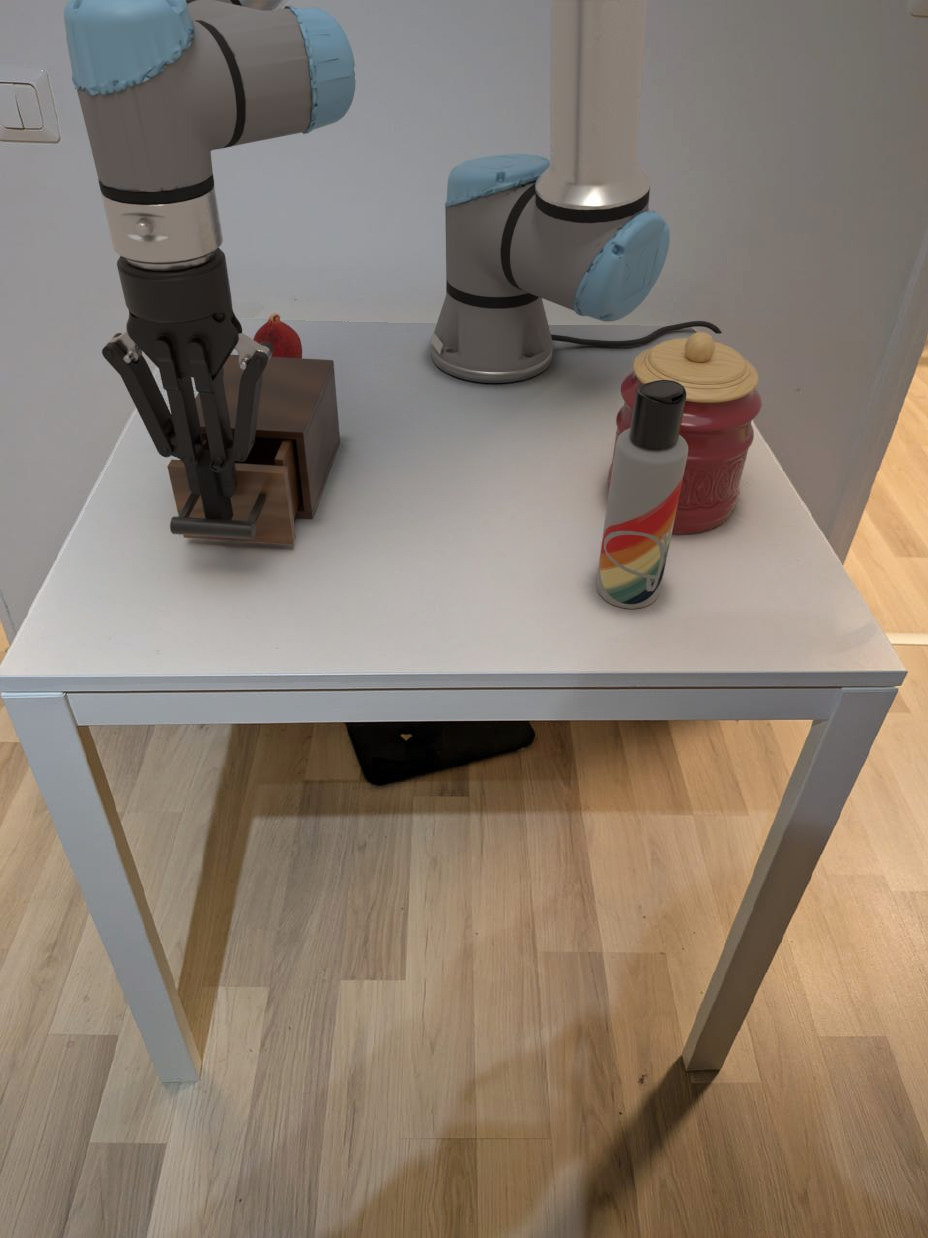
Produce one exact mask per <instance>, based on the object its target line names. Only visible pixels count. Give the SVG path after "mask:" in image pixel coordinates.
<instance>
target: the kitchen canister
mask: <svg viewBox="0 0 928 1238" xmlns="http://www.w3.org/2000/svg"><path fill="white" fill-rule="evenodd" d="M632 369H633V370H632V371H631V372H629V373H628V374H627V375H626V376H625V377H624V378H623V380H622V382H621V385H620V395H621V397H622V400H623V404H622V406H621V407H620V409H619V410H618V412H617V413H616V414H617V415H616V419H615V425H616V432H615V439H614V445H613V452H612V460H611V464H610V465H609V468H608V476H607V488H608V490H609V489H610V482H611V475H612V468H613V461H614V454H615V448H616V442H617V439H618V437H619V435H620V434H621V433H622V432H624V431H625V430H627V429H629V428H631V421H632V414H633V408H634V401H635V395H636V390H637V388H638V387H639V386H641V385H643V384H646V383H649V382H652V381H658V380H671V381H675V382H678V383H680V384H681V385H682V386H683V387H684V388H685V390H686V394H687V395H686V402H685V407H684V412H683V417H682V423H681V428H680V433H679V435H680V436H682V437H683V438H684V439H685V441H686V442H687V445H688V455H687V460H686V466H685V471H684V476H683V481H682V485H681V490H680V495H679V500H678V505H677V510H676V515H675V520H674V525H673V530H672V534H694V533H701V532H705V531H710V530H711V529H714V528H716V527H718V526H720V525H722V524H723V523H724V522H726V521H727V520H728V519H729V517H730V516H731V514H732V512H733V509H734V508H735V507H736V504H737V503H738V500H739V495H740V491H741V480H742V476H743V473H744V468H745V466H746V465H745V464H746V460H747V457H748V453H749V450H750V449H749V448H750V447H751V446H752V444H753V442H754V437H755V433H754V428H753V427H754V426H752V422H753V420H754V419H755V418H756V417H757V416H758V415H759V414H760V412H761V409H762V407H763V406H762V405H763V400H762V396H761V394H760V392H759V391H758V389H757V388H756V387H757V385H758V382H759V373H758V371H757V369H756V368H755V366H754V365H753V364H752V363H751V362H750V361H748V360H747V359H746V358H745V357H743V355H742V354H741V353H740V352H739V351H737V350H735V349H734V348H732V347H730V346H728V345H726V344H724V343H721V342H717V341H715V339H714V338H713V336H711V334H709V333H708V332H705V331H698V332H694V333H693V334H691V335H690V336H689V337H681V338H673V339H669V340H664V341H662V342H660V343H658V344H657V345H654V346H652V347H649V348H646V349H644V350H643V351H641V352H640V353H639V354H638V355H636V357H635V359H634V361H633V365H632Z"/></svg>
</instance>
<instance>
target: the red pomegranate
mask: <svg viewBox="0 0 928 1238" xmlns="http://www.w3.org/2000/svg"><path fill="white" fill-rule="evenodd" d="M252 339H253V340H254V341H256V342H257V343H259V344H260V343H261V342H263V341H267V342H269V343H271V344H272V345H273V347H274V352H273V354H272V356H271V357H285V358H303V346H302V341H301V337H300V336H299V334H298V333H297V332H296V330H295V329H293V328H292V327H291V326H290V325H289V324H288V323H286V322H284V321H281V315H280V314H278V313H277V312H273V313H271V314H270V316H269V317H268V320H267V321H266V323H264V324H263V325H261V326H260V327H259V328H258V329H257V331H256V332H255V334H254V337H253V338H252Z"/></svg>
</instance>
